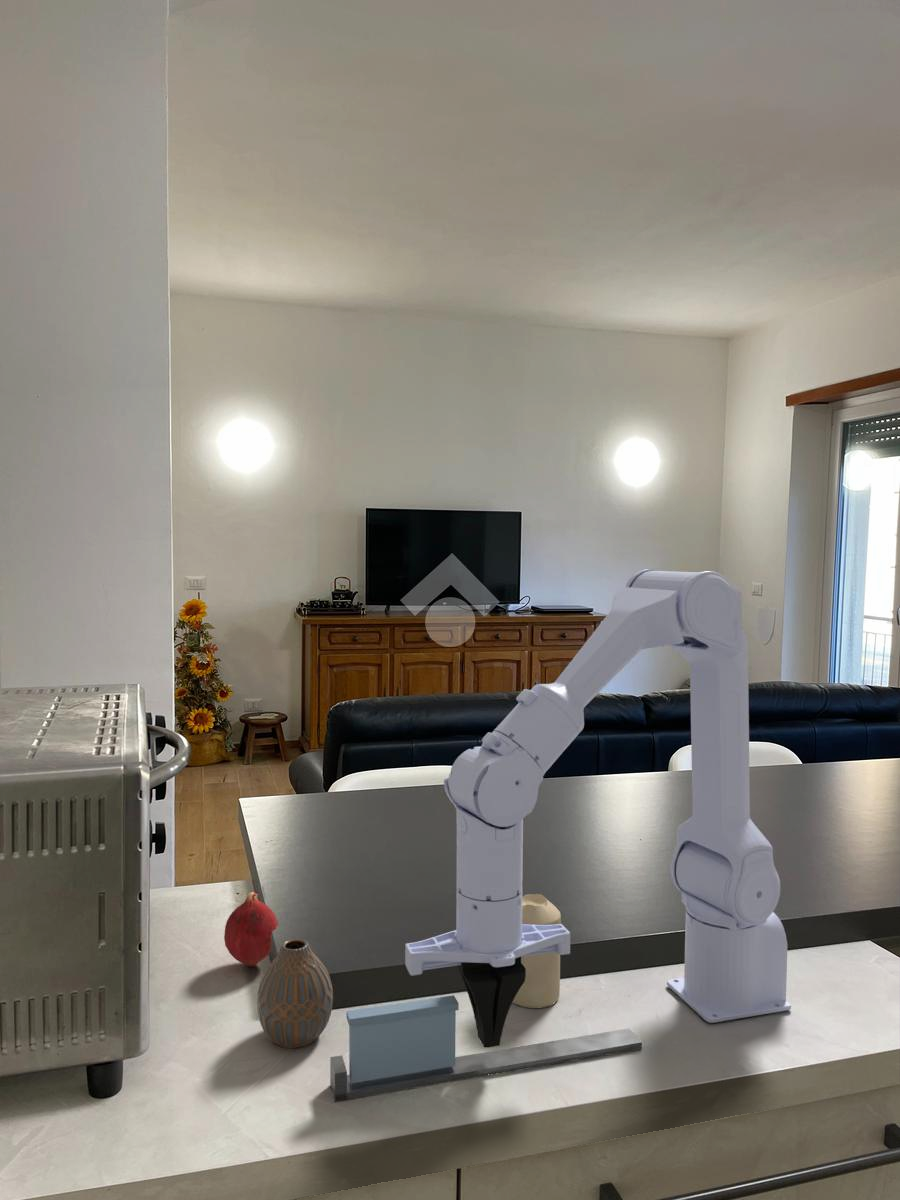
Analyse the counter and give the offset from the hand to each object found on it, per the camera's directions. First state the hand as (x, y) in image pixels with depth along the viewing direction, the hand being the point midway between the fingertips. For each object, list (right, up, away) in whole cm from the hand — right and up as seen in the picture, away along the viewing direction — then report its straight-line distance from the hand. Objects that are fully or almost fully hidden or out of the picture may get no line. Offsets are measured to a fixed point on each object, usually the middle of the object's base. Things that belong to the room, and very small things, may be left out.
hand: (488, 1040), depth 76 cm
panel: (-7, -2, -2) cm, 8 cm away
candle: (+5, -2, +13) cm, 14 cm away
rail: (0, -2, 0) cm, 2 cm away
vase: (-18, -2, +5) cm, 19 cm away
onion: (-25, -1, +18) cm, 31 cm away
